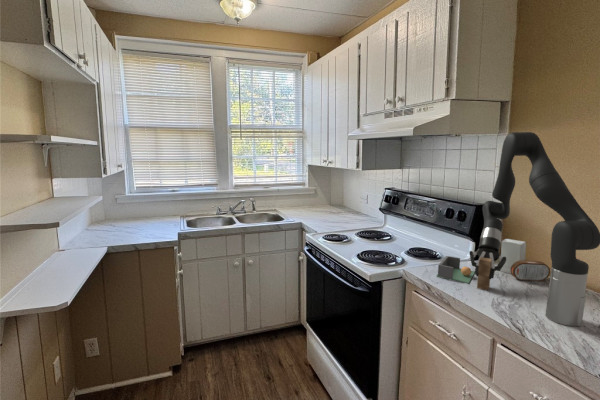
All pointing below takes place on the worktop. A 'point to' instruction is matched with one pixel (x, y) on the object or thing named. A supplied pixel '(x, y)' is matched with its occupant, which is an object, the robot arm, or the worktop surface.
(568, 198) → the robot arm
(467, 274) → the ball
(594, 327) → the worktop surface
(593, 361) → the worktop surface
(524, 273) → the tin
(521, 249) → the skincare box
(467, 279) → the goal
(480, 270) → the brown wooden block
